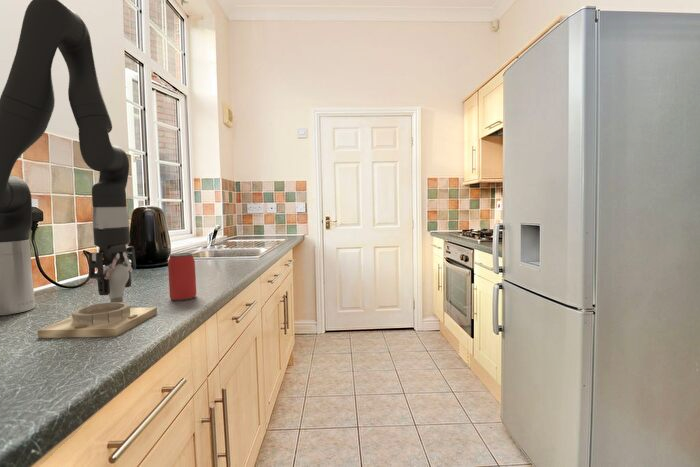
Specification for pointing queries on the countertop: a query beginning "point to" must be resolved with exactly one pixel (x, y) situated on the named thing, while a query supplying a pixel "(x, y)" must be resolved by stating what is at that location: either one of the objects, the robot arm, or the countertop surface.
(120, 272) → the lightbulb
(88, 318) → the lamp holder
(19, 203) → the robot arm
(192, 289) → the beer can
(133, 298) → the countertop surface
